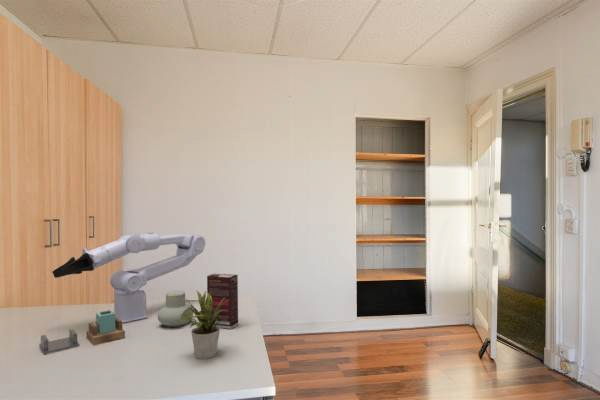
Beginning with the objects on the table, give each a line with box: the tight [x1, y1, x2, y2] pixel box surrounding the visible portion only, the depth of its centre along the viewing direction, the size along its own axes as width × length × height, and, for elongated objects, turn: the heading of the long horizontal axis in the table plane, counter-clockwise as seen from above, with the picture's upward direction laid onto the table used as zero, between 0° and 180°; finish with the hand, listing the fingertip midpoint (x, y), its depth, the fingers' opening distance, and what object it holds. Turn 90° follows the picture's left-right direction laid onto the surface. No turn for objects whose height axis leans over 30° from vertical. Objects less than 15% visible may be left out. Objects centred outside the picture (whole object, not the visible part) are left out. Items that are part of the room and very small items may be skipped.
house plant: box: [176, 290, 228, 360], centre depth 95 cm, size 14×14×16 cm
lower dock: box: [38, 328, 80, 355], centre depth 101 cm, size 8×8×3 cm
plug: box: [95, 309, 115, 334], centre depth 107 cm, size 4×4×6 cm
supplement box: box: [206, 272, 239, 330], centre depth 117 cm, size 9×5×16 cm, turn 71°
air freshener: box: [157, 290, 194, 327], centre depth 119 cm, size 11×8×10 cm
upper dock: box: [86, 317, 126, 346], centre depth 107 cm, size 8×8×4 cm
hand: (58, 273), depth 107 cm, fingers open, 7 cm apart
